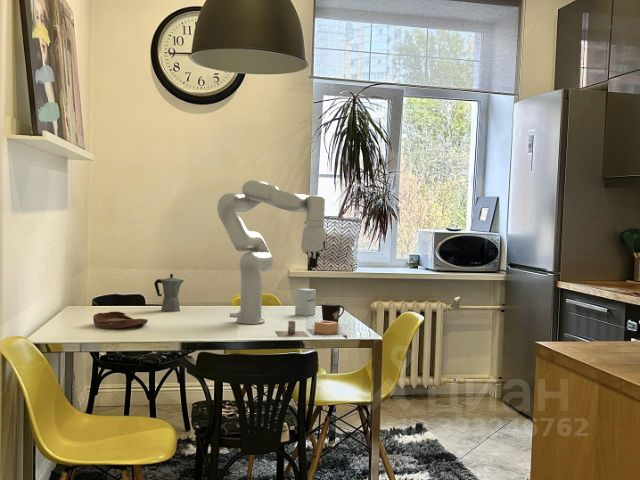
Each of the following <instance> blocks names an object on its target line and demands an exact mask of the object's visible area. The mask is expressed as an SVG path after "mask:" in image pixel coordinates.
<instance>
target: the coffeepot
mask: <svg viewBox="0 0 640 480" xmlns="http://www.w3.org/2000/svg"><path fill="white" fill-rule="evenodd" d="M183 282H184V279H180V278H175V277H174V274H173V273H170V274H169V277H167V278H164V279H163V278H161V279H160V278H158V279H156V280H155V281H154V289H155V291H156V295H157V297H162V296H163V300H162V303H161V312H163V313H177V312H180V303H179V294H180V293H179V292H180V288H181V285H182V284H183ZM159 284H162V290H163V291H162V292H163V294H161V293H160V287H159Z"/></svg>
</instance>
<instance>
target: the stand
mask: <svg viewBox="0 0 640 480" xmlns="http://www.w3.org/2000/svg"><path fill="white" fill-rule="evenodd" d="M274 333H275V334H276V335H277V337H281V338H285V337H286V338H287V337H288V338H290V337H291V338H292V337H293V338H294V337H295V338H296V337H297V338H298V337H299V338H300V337H303V338H305V337H307V338H309V335H308V334H307V333H306V332H305V331H304V330H300V331H299V330H296V320H289V321H288V323H287V330H274Z"/></svg>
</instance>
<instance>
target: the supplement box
mask: <svg viewBox="0 0 640 480" xmlns="http://www.w3.org/2000/svg"><path fill="white" fill-rule="evenodd" d="M316 295H317V289H313V288H307V287H306V288H296V289H295V306H294V308H295V309H294V313H295V314H294V315H296V316H297V315H298V316H302V317H303V316H304V317H308V316H314V315H316V299H317V296H316Z"/></svg>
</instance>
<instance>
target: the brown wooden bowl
mask: <svg viewBox="0 0 640 480" xmlns="http://www.w3.org/2000/svg"><path fill="white" fill-rule="evenodd" d="M92 318H93V324H94V325H95V327H96V328H100V329H121V328H128V327H132V326H137V325H139V326H145V325H146V324H147V323H148V321H149V319H146V318H132V317H131V316H129V315H127V314H126V313H125V312H122V311H109V312H99V313H95V314H94V315H93V317H92Z"/></svg>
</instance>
